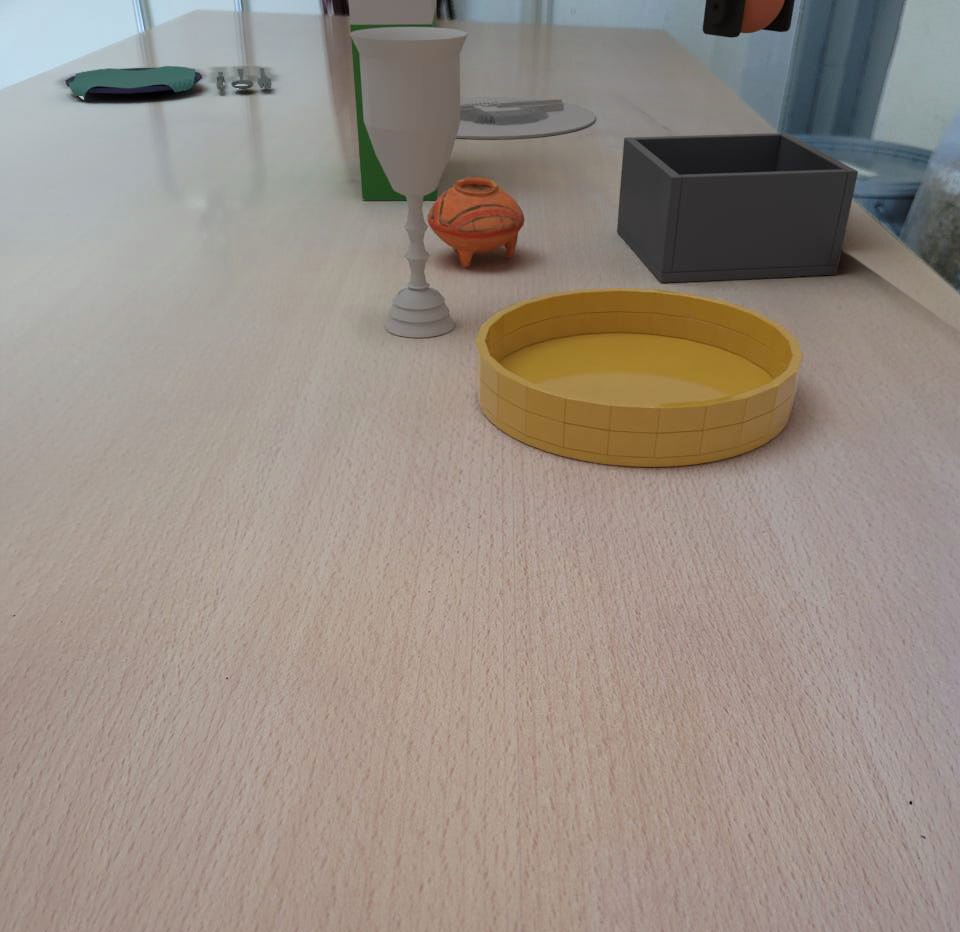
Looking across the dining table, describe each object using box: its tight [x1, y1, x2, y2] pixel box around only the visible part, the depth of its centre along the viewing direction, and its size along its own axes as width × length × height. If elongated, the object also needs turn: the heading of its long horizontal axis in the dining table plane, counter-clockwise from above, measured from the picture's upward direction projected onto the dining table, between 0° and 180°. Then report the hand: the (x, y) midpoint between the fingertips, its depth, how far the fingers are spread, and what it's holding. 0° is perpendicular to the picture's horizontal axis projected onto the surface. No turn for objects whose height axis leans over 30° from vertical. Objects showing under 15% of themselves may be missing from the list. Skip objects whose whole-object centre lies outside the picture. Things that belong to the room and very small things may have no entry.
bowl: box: [474, 287, 804, 468], centre depth 61 cm, size 19×19×4 cm
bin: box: [616, 132, 859, 284], centre depth 83 cm, size 15×15×8 cm
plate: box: [456, 96, 596, 140], centre depth 134 cm, size 28×28×1 cm
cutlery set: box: [64, 65, 273, 98], centre depth 151 cm, size 20×30×2 cm, turn 102°
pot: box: [427, 176, 525, 268], centre depth 83 cm, size 8×8×7 cm
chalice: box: [349, 27, 469, 339], centre depth 66 cm, size 7×7×18 cm
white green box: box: [348, 0, 439, 201], centre depth 99 cm, size 18×7×24 cm, turn 1°
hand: (746, 29), depth 75 cm, fingers closed on toy ball, 4 cm apart
